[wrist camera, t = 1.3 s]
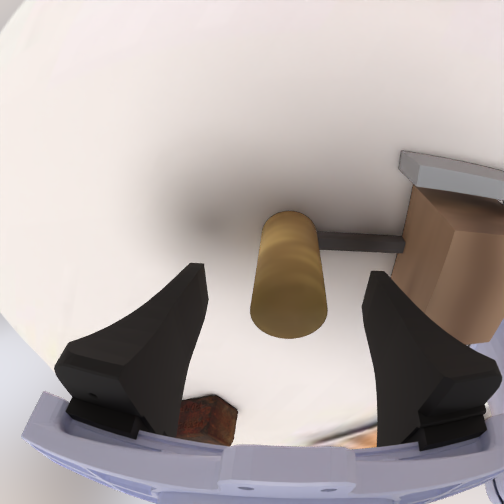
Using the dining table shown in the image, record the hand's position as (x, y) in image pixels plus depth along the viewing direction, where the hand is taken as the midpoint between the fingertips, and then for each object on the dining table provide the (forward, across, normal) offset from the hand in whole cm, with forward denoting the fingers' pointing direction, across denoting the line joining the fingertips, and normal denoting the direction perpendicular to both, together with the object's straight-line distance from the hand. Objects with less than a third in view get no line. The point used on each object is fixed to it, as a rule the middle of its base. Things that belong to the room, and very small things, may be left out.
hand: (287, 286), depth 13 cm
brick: (+5, +9, +22) cm, 24 cm away
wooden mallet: (+4, -6, 0) cm, 7 cm away
